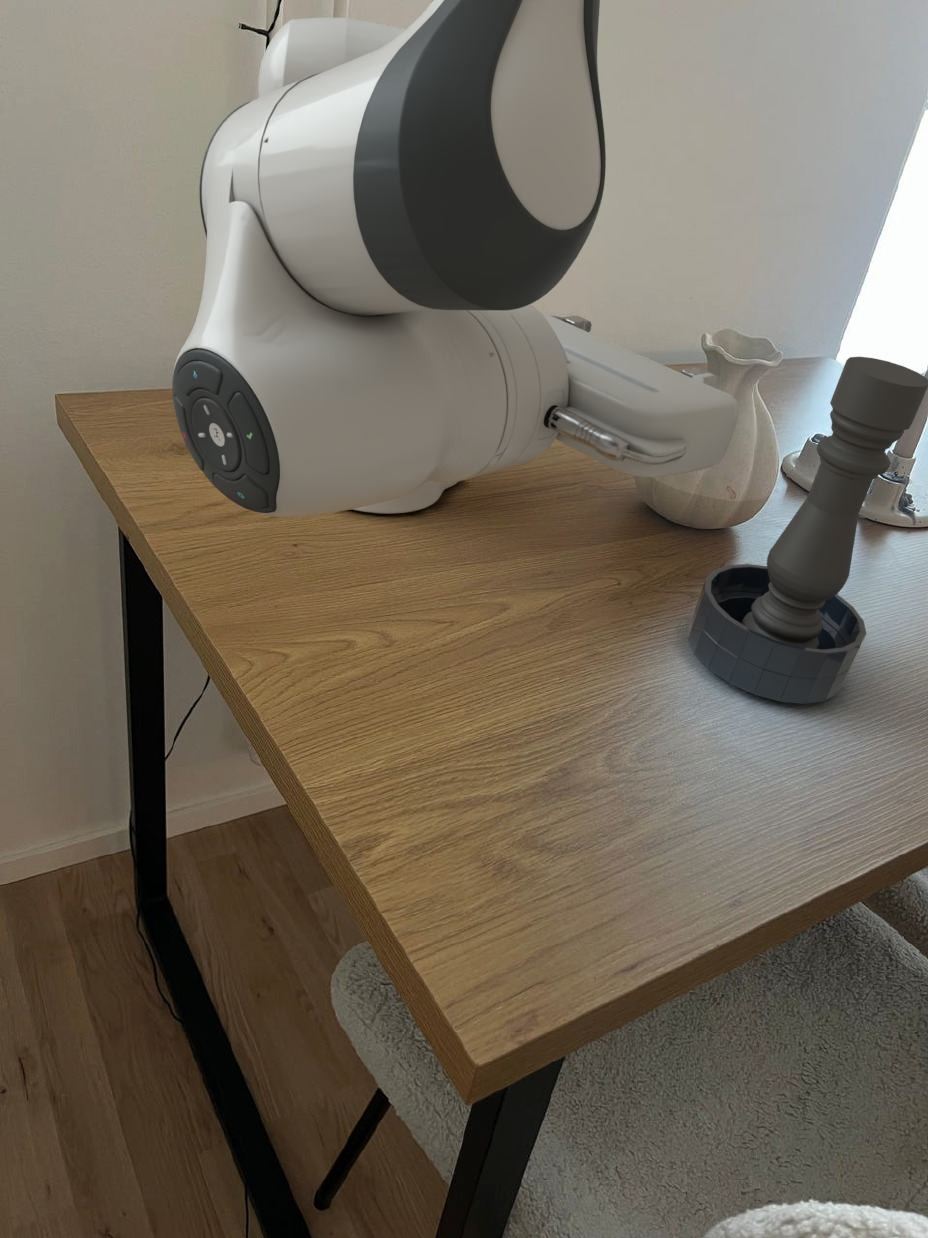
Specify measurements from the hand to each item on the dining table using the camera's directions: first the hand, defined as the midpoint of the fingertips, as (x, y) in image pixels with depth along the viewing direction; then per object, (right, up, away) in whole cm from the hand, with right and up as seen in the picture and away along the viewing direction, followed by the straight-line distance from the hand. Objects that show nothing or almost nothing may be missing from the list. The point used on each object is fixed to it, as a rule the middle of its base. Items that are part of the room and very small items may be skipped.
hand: (640, 356), depth 61 cm
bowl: (+14, -19, +23) cm, 33 cm away
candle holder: (+14, -20, +22) cm, 33 cm away
